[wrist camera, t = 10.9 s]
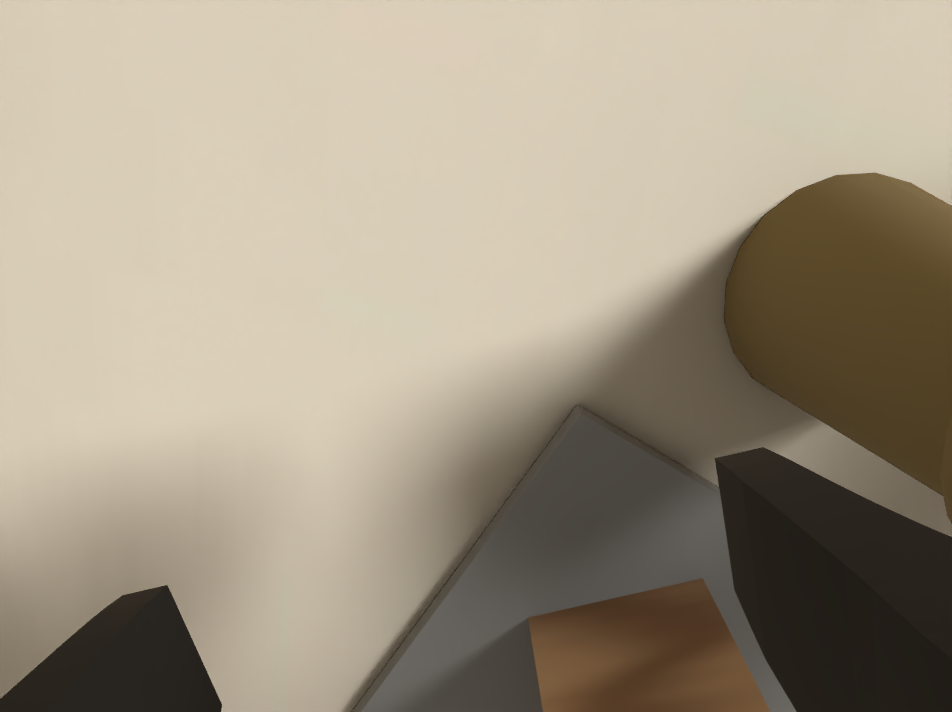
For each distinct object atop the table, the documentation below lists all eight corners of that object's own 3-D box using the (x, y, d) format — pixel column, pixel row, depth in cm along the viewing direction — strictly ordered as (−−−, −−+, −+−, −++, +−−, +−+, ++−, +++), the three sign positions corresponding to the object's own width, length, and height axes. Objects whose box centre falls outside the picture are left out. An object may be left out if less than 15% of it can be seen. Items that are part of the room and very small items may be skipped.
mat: (907, 598, 24) (919, 611, 23) (662, 853, 27) (667, 870, 26) (577, 404, 21) (581, 414, 20) (350, 714, 24) (348, 730, 24)
